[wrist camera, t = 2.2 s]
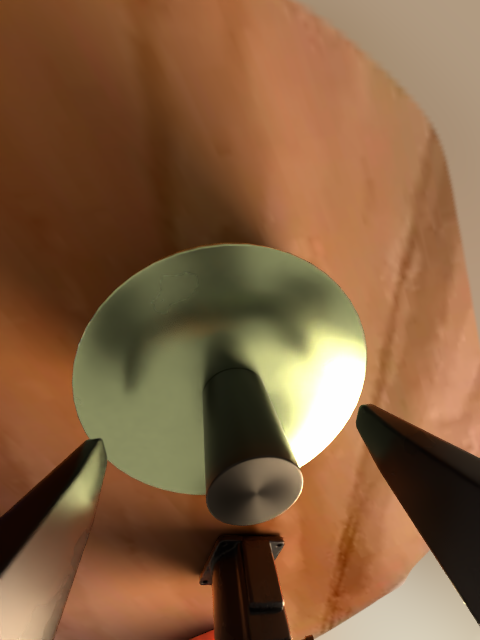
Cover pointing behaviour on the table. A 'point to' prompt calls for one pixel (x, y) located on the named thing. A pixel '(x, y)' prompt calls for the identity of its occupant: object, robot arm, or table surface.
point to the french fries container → (205, 636)
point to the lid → (221, 375)
